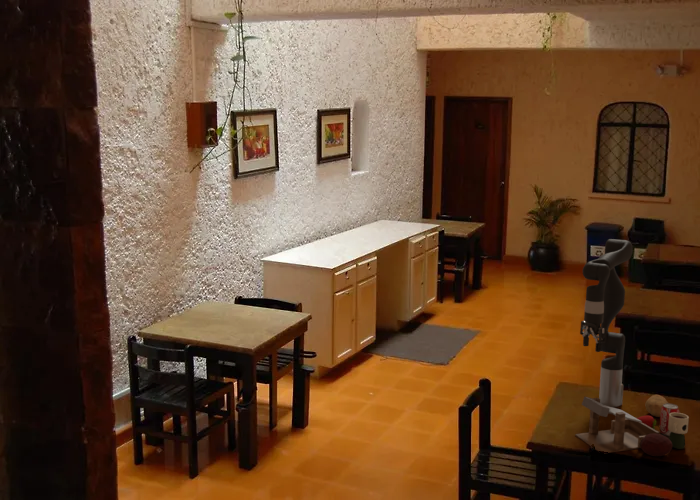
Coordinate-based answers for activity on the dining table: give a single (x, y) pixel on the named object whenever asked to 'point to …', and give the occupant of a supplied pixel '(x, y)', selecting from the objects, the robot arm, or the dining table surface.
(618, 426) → the stand
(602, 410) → the trapdoor
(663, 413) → the soda can
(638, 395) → the dining table surface
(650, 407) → the potato
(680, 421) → the character mug
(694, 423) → the dining table surface
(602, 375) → the robot arm
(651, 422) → the strawberry
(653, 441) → the potato
